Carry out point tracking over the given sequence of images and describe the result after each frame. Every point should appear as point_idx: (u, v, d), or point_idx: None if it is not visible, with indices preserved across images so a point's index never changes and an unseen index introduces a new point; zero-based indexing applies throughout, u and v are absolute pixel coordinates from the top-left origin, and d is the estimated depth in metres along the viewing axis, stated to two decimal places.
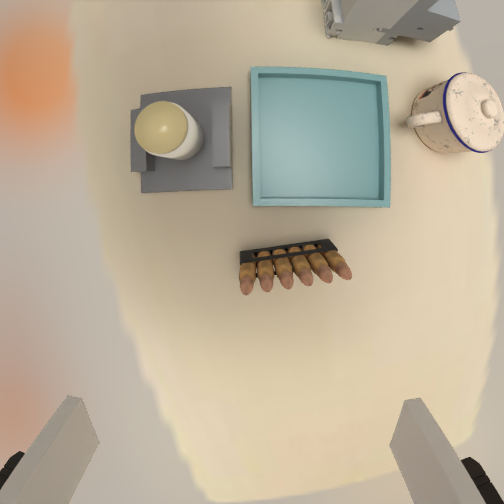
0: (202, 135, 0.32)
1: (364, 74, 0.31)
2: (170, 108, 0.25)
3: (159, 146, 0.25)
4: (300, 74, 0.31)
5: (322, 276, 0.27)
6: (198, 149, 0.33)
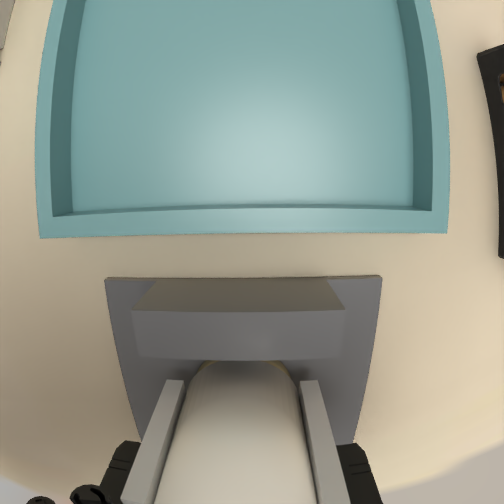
0: (240, 374, 0.11)
1: None
2: None
3: None
4: (54, 99, 0.10)
5: None
6: (279, 379, 0.12)
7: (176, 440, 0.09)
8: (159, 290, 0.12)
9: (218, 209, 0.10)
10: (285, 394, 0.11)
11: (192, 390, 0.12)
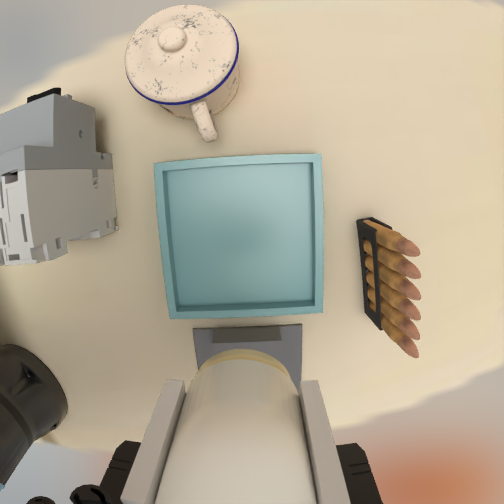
0: (240, 376, 0.11)
1: (157, 192, 0.29)
2: None
3: None
4: (171, 267, 0.31)
5: None
6: (279, 380, 0.12)
7: (176, 441, 0.09)
8: (218, 334, 0.33)
9: (239, 310, 0.32)
10: (285, 395, 0.11)
11: (192, 391, 0.12)
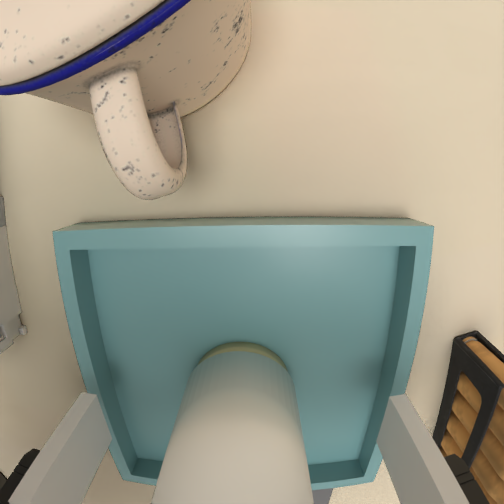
0: (238, 366, 0.12)
1: (65, 294, 0.12)
2: None
3: None
4: (112, 421, 0.14)
5: None
6: (275, 371, 0.12)
7: (176, 428, 0.10)
8: None
9: None
10: (281, 385, 0.12)
11: (192, 382, 0.12)
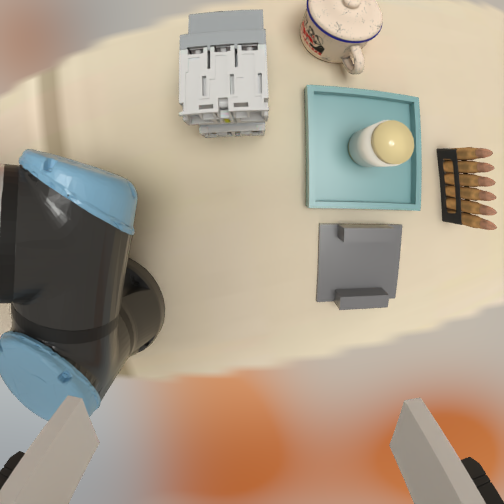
0: None
1: (309, 105, 0.36)
2: (381, 130, 0.29)
3: (409, 143, 0.29)
4: None
5: (487, 171, 0.29)
6: None
7: (362, 131, 0.34)
8: (343, 225, 0.40)
9: (364, 202, 0.39)
10: None
11: (356, 132, 0.36)
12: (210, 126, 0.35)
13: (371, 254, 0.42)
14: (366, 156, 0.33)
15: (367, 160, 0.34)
